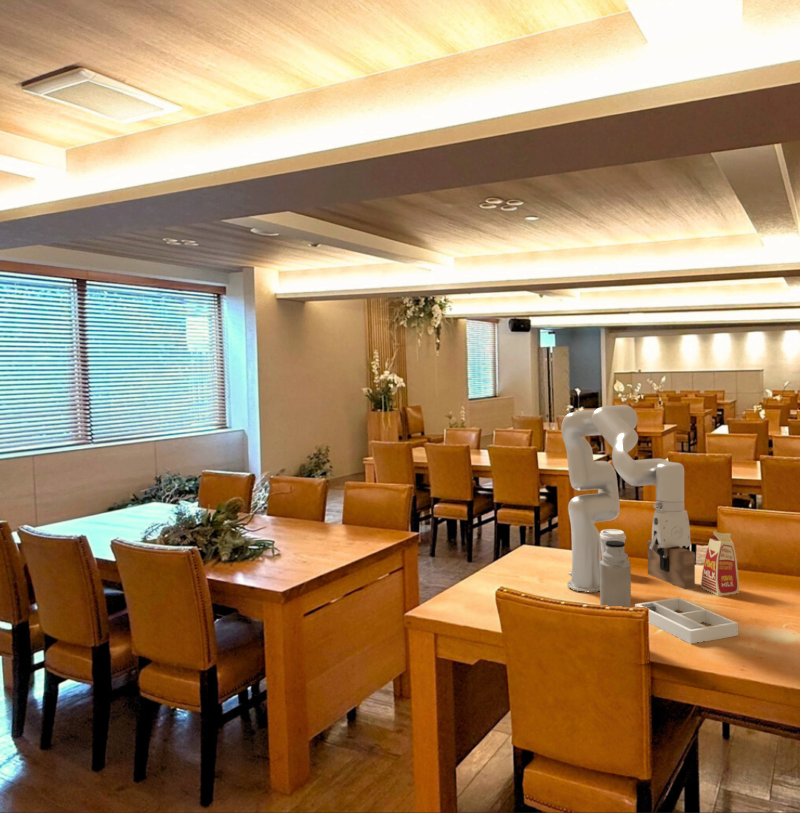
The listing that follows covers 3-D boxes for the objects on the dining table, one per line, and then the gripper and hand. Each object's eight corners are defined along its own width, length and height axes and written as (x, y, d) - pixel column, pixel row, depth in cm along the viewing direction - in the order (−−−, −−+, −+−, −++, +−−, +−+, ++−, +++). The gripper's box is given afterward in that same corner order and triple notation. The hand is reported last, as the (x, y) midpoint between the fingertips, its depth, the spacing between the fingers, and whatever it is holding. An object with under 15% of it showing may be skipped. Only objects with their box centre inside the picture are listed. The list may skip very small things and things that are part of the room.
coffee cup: (596, 569, 270) (595, 528, 269) (622, 568, 269) (622, 528, 268) (602, 576, 260) (602, 535, 259) (629, 576, 260) (629, 534, 259)
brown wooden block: (647, 573, 216) (647, 540, 216) (656, 572, 217) (656, 539, 217) (685, 589, 201) (685, 553, 200) (694, 588, 202) (694, 552, 202)
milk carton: (718, 596, 236) (718, 534, 235) (699, 588, 245) (699, 528, 244) (742, 593, 238) (742, 532, 237) (722, 585, 247) (722, 526, 246)
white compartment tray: (635, 615, 220) (634, 604, 220) (678, 608, 226) (678, 597, 225) (690, 644, 198) (690, 631, 198) (738, 635, 203) (738, 623, 203)
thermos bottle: (596, 638, 203) (595, 538, 202) (625, 637, 204) (624, 537, 202) (605, 649, 195) (604, 546, 194) (635, 648, 196) (634, 545, 194)
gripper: (654, 511, 202) (654, 576, 203) (703, 505, 207) (703, 570, 208) (637, 506, 209) (637, 569, 210) (684, 501, 214) (685, 563, 215)
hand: (670, 569), depth 209 cm, fingers closed on brown wooden block, 3 cm apart
